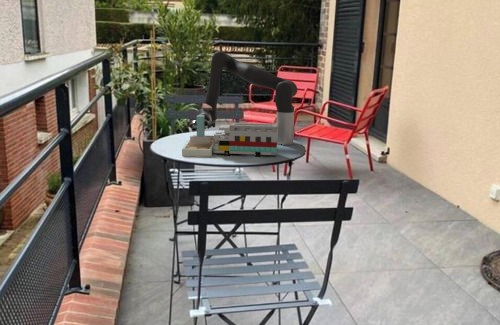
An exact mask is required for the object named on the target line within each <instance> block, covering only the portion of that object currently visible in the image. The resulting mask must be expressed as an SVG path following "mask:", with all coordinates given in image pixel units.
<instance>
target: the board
mask: <svg viewBox="0 0 500 325" xmlns="http://www.w3.org/2000/svg"><path fill="white" fill-rule="evenodd" d="M192 136H197V134H196V135H192ZM205 137H210V143H201V142H190V139H189V140H188V142H187V144H188V149H189V147H198V149H199V147H208V149H210V147H211V145H215V143H216V142H217V140H214V135H205Z"/></svg>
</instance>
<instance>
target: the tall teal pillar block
mask: <svg viewBox="0 0 500 325" xmlns="http://www.w3.org/2000/svg"><path fill="white" fill-rule="evenodd" d="M196 119H197V127H196V135H197V136H193V135H191V136H189V140H190V142H201V143H210V137H205V136H206V135H205V130H206V129H205V123H204V115H198V114H197V115H196Z"/></svg>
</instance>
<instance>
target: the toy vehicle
mask: <svg viewBox="0 0 500 325" xmlns="http://www.w3.org/2000/svg"><path fill="white" fill-rule="evenodd" d="M277 129H278V124H276V123H259V122H255V123H254V122H231V123H230V124H221V125H220V126H219V127H218V131H216V132H215V133H214V134H213V136H214V140H216V143H215V145H214V152H213V154H224V157H226V156H227V157H230V156H231V154H232V155H233V154H235V155H237V154H239V155H255V156H254V157H255V158H261V157H262V156H267V155H268V156H277V152H278V144H277Z"/></svg>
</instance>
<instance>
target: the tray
mask: <svg viewBox="0 0 500 325" xmlns="http://www.w3.org/2000/svg"><path fill="white" fill-rule="evenodd" d="M213 154H214V145H211V147H210V149H188V143H185V144H184V146H182V148H181V156H182V157H209V158H210V157H212V156H213Z"/></svg>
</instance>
